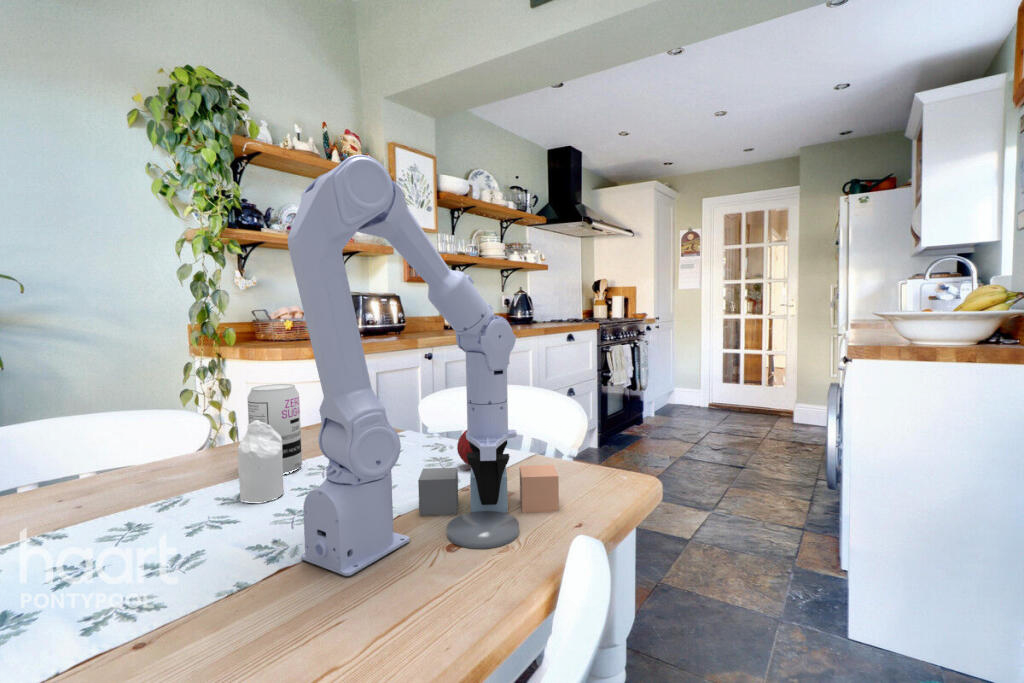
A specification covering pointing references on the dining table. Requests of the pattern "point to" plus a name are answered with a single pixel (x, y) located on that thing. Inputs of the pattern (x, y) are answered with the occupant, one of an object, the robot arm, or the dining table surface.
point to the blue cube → (499, 507)
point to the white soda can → (279, 418)
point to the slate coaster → (483, 529)
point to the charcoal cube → (438, 491)
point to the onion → (463, 447)
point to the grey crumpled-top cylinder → (260, 463)
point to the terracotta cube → (539, 488)
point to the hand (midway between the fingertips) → (489, 496)
